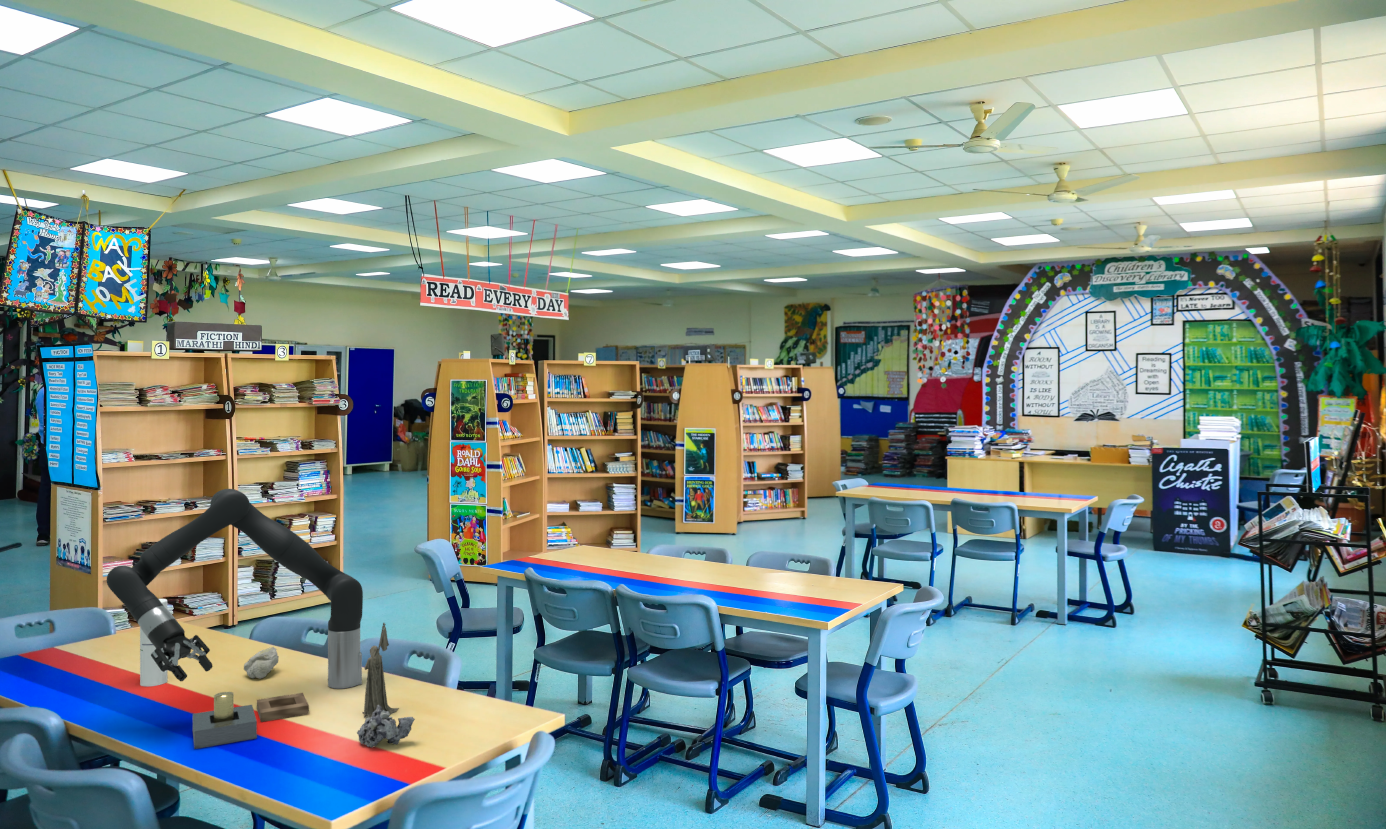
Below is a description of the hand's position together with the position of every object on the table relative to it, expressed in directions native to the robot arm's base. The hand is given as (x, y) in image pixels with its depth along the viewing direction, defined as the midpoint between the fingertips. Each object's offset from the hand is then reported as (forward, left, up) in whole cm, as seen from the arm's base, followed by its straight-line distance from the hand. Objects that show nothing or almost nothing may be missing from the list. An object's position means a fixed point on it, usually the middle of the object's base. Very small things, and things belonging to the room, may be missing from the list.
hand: (197, 674), depth 231 cm
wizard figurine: (-44, +9, -15) cm, 47 cm away
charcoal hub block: (-6, +6, -15) cm, 17 cm away
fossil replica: (-19, -43, -15) cm, 50 cm away
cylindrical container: (+10, -51, -15) cm, 54 cm away
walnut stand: (-21, -5, -15) cm, 26 cm away
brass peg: (-6, +6, -15) cm, 17 cm away
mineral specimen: (-40, +32, -15) cm, 53 cm away
